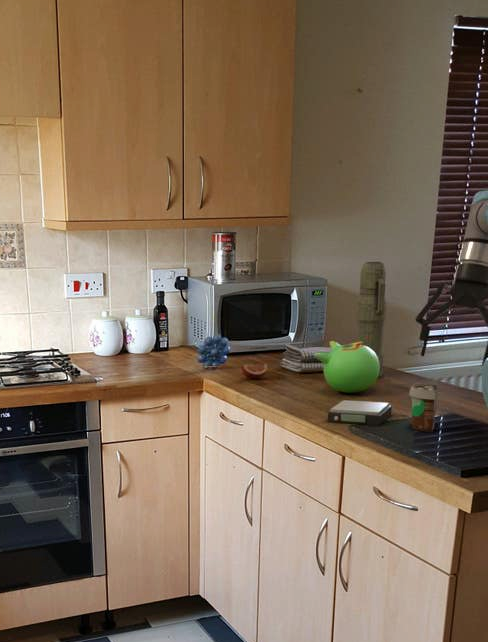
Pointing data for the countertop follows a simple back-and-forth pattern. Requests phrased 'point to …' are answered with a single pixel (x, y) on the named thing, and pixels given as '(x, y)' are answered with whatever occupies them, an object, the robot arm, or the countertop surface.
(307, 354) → the towel
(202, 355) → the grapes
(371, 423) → the kitchen scale
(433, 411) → the food container
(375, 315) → the thermos
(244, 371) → the fruit slice
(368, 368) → the toy bird
